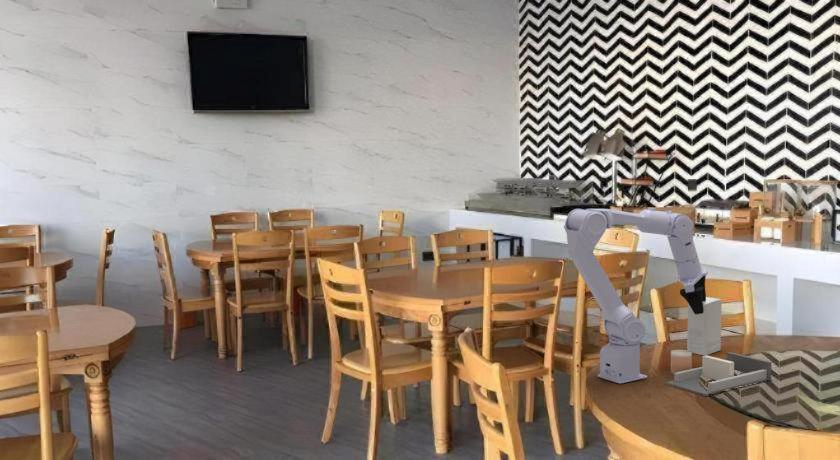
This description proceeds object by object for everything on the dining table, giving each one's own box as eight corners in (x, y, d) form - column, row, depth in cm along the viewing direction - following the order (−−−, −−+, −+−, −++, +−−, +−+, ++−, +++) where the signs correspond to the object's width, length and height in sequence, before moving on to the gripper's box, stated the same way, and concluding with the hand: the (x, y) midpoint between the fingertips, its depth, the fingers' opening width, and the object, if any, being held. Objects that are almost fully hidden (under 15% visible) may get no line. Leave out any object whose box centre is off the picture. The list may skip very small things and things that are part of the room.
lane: (706, 396, 180) (706, 377, 180) (665, 384, 191) (665, 365, 190) (772, 379, 192) (772, 361, 192) (730, 369, 202) (731, 351, 202)
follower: (729, 383, 187) (729, 363, 187) (702, 376, 194) (702, 356, 194) (733, 382, 188) (734, 362, 188) (706, 375, 195) (706, 355, 194)
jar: (682, 377, 196) (682, 355, 196) (666, 372, 201) (666, 351, 200) (696, 374, 199) (696, 352, 198) (680, 369, 203) (680, 348, 203)
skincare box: (702, 347, 226) (702, 295, 224) (722, 351, 221) (722, 298, 220) (686, 352, 220) (686, 299, 219) (705, 356, 216) (706, 302, 214)
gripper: (699, 265, 192) (714, 316, 194) (704, 245, 205) (718, 293, 207) (670, 270, 195) (685, 321, 198) (677, 251, 208) (691, 298, 210)
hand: (700, 307), depth 203 cm, fingers open, 7 cm apart
